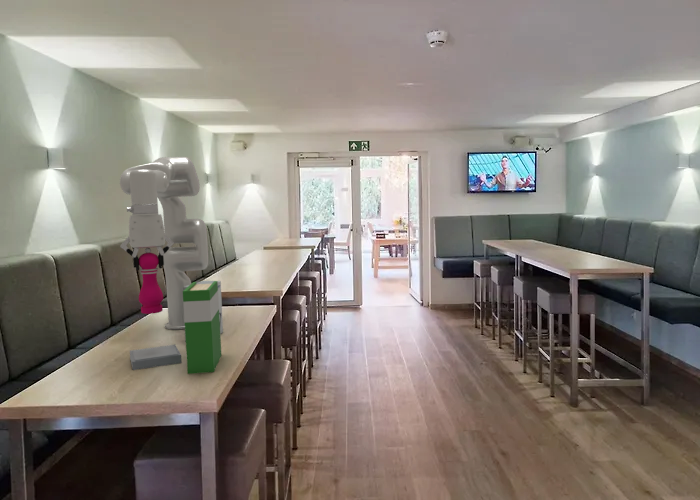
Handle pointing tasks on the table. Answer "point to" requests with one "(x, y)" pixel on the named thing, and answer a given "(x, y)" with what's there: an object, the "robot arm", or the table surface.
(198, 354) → the hardback book
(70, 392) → the table surface
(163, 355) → the slate stand
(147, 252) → the pepper mill
